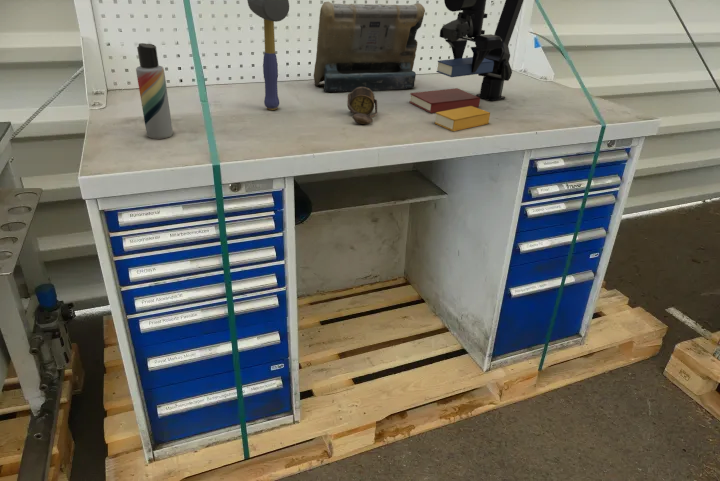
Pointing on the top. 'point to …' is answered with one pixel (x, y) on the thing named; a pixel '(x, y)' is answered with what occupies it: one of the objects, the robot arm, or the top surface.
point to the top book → (462, 118)
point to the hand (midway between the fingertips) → (465, 69)
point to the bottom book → (443, 100)
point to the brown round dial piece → (362, 105)
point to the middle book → (463, 67)
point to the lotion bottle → (153, 93)
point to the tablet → (367, 46)
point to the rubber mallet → (270, 44)
